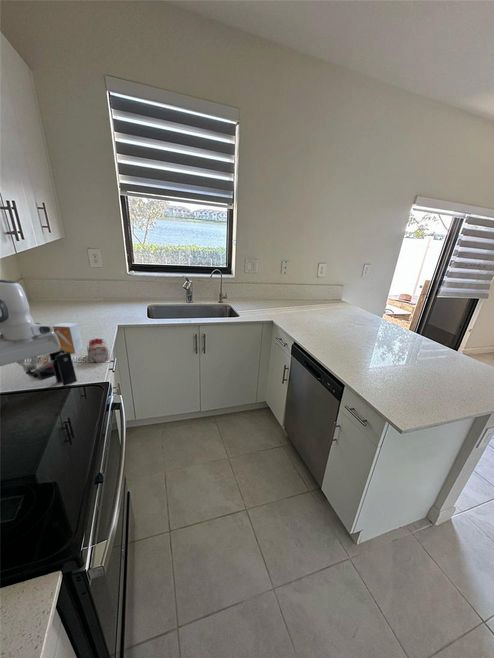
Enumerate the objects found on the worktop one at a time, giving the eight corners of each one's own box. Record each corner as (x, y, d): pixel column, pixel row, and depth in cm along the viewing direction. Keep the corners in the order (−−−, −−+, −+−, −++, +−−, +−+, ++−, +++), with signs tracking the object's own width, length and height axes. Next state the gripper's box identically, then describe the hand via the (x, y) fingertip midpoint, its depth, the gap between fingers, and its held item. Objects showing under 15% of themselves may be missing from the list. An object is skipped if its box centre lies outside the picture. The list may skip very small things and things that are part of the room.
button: (46, 370, 111) (45, 366, 110) (41, 368, 112) (40, 364, 112) (56, 367, 114) (55, 363, 113) (51, 365, 115) (50, 361, 115)
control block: (42, 383, 109) (40, 373, 107) (31, 378, 112) (28, 368, 111) (70, 373, 117) (68, 364, 115) (59, 369, 120) (57, 360, 119)
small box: (58, 352, 137) (52, 325, 133) (67, 348, 143) (61, 322, 138) (75, 353, 137) (69, 326, 132) (83, 348, 143) (78, 323, 138)
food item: (111, 363, 128) (107, 342, 124) (90, 367, 124) (85, 345, 120) (108, 353, 138) (104, 334, 134) (88, 356, 134) (84, 336, 130)
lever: (35, 379, 96) (31, 374, 95) (28, 376, 98) (23, 370, 97) (70, 359, 105) (66, 354, 103) (62, 356, 107) (58, 351, 105)
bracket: (57, 394, 101) (48, 361, 96) (43, 388, 105) (33, 355, 100) (90, 381, 111) (84, 350, 106) (77, 376, 115) (69, 346, 110)
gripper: (-19, 341, 83) (-4, 384, 88) (57, 325, 100) (67, 362, 105) (-29, 337, 85) (-13, 379, 91) (47, 322, 102) (57, 358, 108)
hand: (30, 370), depth 98 cm, fingers closed
